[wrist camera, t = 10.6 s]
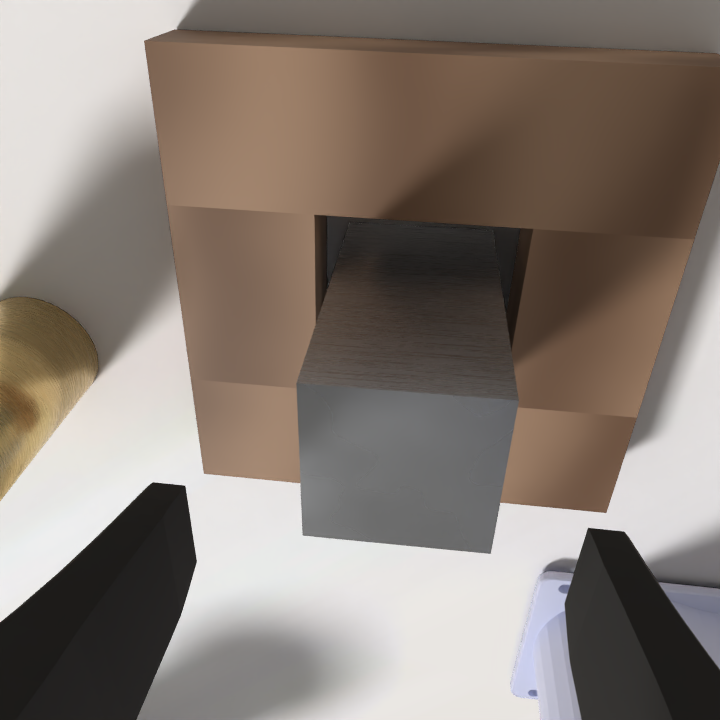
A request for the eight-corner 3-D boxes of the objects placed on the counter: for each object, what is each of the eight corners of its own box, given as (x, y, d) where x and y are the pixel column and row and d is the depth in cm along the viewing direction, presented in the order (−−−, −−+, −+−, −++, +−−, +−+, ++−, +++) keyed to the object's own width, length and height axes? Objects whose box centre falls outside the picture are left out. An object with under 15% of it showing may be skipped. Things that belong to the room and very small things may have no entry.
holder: (716, 53, 15) (749, 68, 14) (594, 469, 23) (606, 512, 21) (174, 29, 16) (144, 41, 15) (221, 435, 24) (204, 473, 22)
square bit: (492, 230, 18) (518, 400, 12) (476, 351, 21) (490, 553, 14) (349, 221, 19) (296, 383, 12) (348, 342, 21) (302, 535, 14)
